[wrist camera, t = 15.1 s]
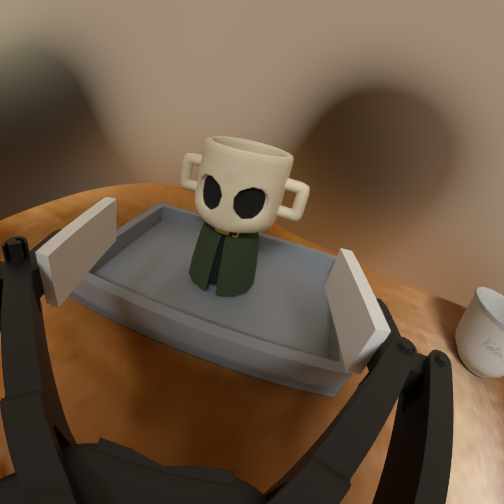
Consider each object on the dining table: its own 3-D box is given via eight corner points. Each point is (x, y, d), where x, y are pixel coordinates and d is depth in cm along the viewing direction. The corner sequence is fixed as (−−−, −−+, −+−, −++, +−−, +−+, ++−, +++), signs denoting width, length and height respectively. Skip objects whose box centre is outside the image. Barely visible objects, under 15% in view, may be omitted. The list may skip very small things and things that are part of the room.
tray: (66, 295, 21) (61, 268, 20) (158, 222, 37) (160, 202, 35) (333, 397, 19) (351, 375, 18) (333, 278, 35) (342, 257, 33)
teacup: (456, 386, 21) (502, 330, 17) (435, 323, 30) (466, 273, 27) (518, 394, 19) (556, 349, 16) (495, 342, 29) (524, 300, 25)
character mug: (153, 280, 25) (167, 134, 19) (185, 247, 31) (204, 129, 25) (267, 321, 24) (317, 172, 18) (279, 278, 30) (318, 159, 24)
